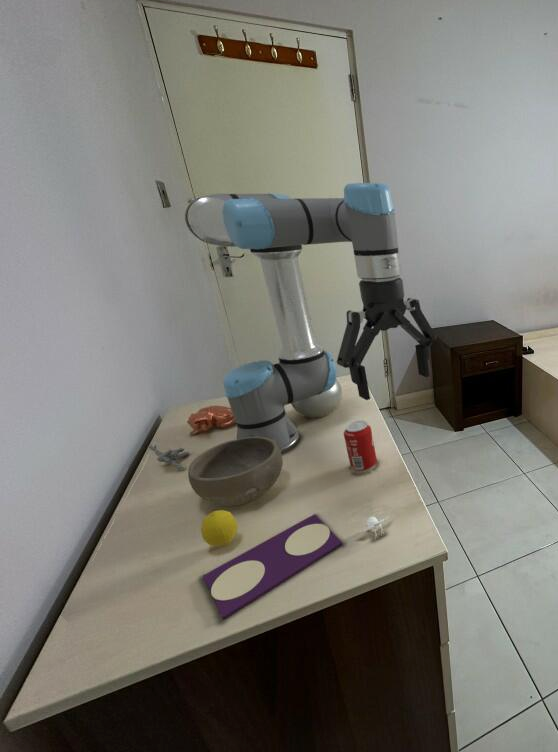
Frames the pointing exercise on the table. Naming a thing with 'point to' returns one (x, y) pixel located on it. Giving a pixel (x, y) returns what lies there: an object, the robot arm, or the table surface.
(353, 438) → the beverage can
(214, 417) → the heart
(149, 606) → the table surface
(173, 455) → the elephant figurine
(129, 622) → the table surface
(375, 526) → the white bird figurine
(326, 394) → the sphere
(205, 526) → the lemon
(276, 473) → the bowl
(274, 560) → the placemat
